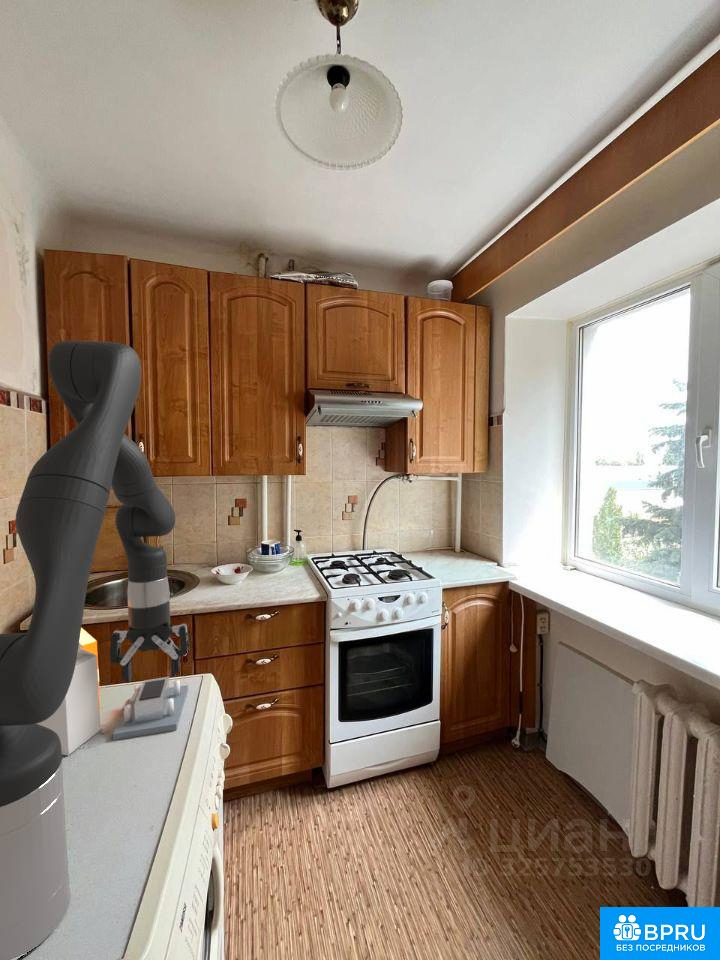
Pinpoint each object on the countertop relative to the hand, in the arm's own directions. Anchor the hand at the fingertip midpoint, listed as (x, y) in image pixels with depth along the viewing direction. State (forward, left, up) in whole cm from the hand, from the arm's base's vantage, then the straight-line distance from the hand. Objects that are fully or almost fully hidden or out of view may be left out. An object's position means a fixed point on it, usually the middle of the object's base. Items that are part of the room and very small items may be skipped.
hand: (151, 678), depth 85 cm
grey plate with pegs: (0, 0, -8) cm, 8 cm away
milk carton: (-13, +6, -8) cm, 16 cm away
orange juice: (-8, +16, -8) cm, 20 cm away
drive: (0, 0, -6) cm, 6 cm away
